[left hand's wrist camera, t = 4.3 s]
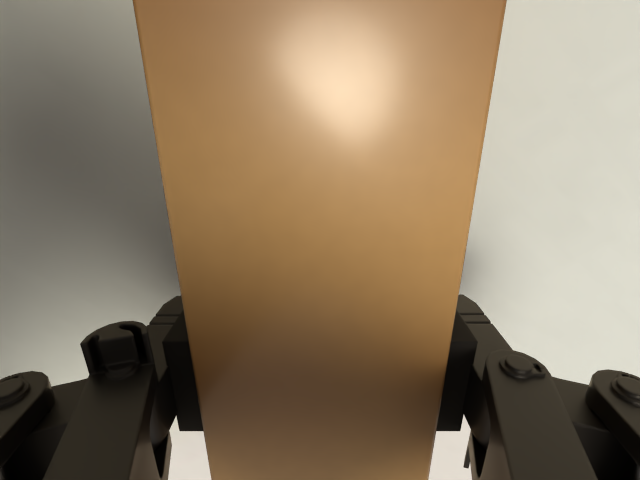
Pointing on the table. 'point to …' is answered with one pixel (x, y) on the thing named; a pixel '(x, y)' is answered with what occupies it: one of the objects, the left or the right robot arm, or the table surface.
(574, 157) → the table surface
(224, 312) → the wooden beam
